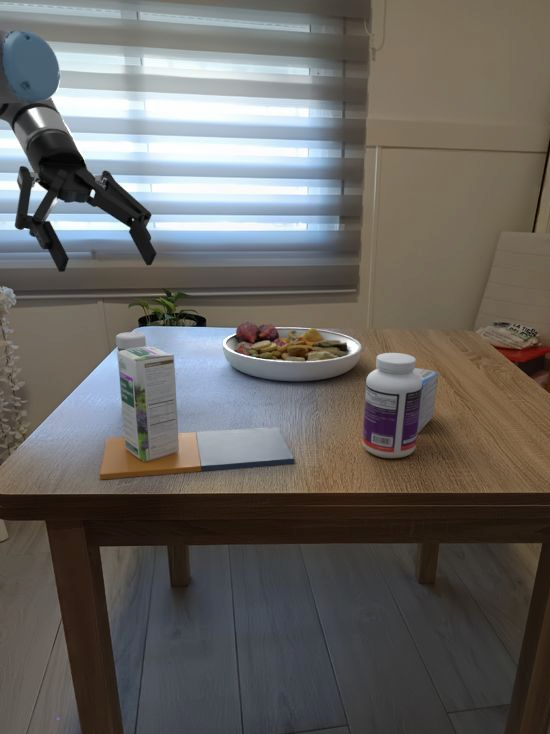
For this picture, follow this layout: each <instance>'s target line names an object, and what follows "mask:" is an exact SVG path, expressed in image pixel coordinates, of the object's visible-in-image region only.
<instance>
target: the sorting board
mask: <svg viewBox="0 0 550 734" xmlns="http://www.w3.org/2000/svg"><path fill="white" fill-rule="evenodd" d="M178 441H179V452H176V453H173V454H169V455H166V456H163V457H160V458H157V459H153V460H150V461H147V462H143V461H142V460H140V459H139V458H137V457H136V456H135V455H133V454H132V453H130V452H129V451H127V450H126V448H125V437H124V436H116V437H106V440H105V444H104V450H103V454H102V459H101V464H100V469H99V480H101V481H102V480H112V479H113V480H114V479H126V478H134V477H135V478H137V477H148V476H161V475H171V474H182V473H195V472H196V473H197V472H208V471H220V470H232V469H234V470H235V469H243V468H256V467H266V466H267V467H268V466H280V465H281V466H282V465H291V464H295V456H294V455H293V453H292V451H291V448H290V447H289V445H288V443H287V441H286V439H285V437H284V435H283V433H282V431H281V429H280V427H279V426H266V427H253V428H251V427H250V428H238V429H237V428H236V429H234V428H233V429H222V430H221V429H219V430H206V431H191V432H178Z"/></svg>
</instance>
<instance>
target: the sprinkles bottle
mask: <svg viewBox="0 0 550 734" xmlns="http://www.w3.org/2000/svg"><path fill="white" fill-rule="evenodd" d="M115 344H116V345H115V346H116V348H117V352H119V351H123V350H126V349H131V348H138V347H147V339H146V335H145V333H142V332H138V331H128V332H127V331H126V332H120V333H118V334H116V335H115Z"/></svg>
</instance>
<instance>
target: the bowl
mask: <svg viewBox="0 0 550 734" xmlns="http://www.w3.org/2000/svg"><path fill="white" fill-rule="evenodd" d="M222 351H223V355H224V357H225V359H226V361H227V362H228V364H230V365H231V366H232V367H233V368H234V369H235V370H237V371H239V372H241V373H242V374H245V375H248V376H251V377H256V378H260V379H264V380H265V379H266V380H270V381H272V380H273V381H282V382H311V381H321V380H325V379H326V380H327V379H331V378H334V377H338V376H341V375H343V374H345V373H348V372H349V371H350V370H352V369H353V368H354V367H355V366H356V365H357V364H358V362H359V360H360V358H361V355H362V344H361V342H360V341H358V340H357V339H356V338H354V337H352V336H349V335H346V334H343V333H340V332H335V331H331V330H324V329H318V328H315V327H311V328H310V327H309V328H308V327H275V325H273V323H270V322H262V323H261V324H260V325H259V326H258V325H257V324H256V323H254V322H251V321H245V322H243V323H241V324H240V325H239V326H237V327H236V330H235V333H233V334H231V335H229V336H226V337H225V338H224V340H223V341H222Z"/></svg>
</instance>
